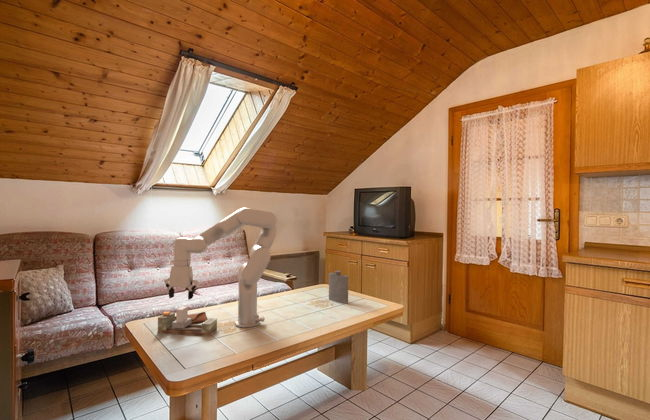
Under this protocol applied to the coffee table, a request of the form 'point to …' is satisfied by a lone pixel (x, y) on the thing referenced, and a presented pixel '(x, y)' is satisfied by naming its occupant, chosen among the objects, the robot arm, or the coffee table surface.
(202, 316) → the sunglasses case
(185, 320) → the carriage
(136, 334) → the coffee table surface
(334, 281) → the hip flask
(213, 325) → the rail bed
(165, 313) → the orange block
